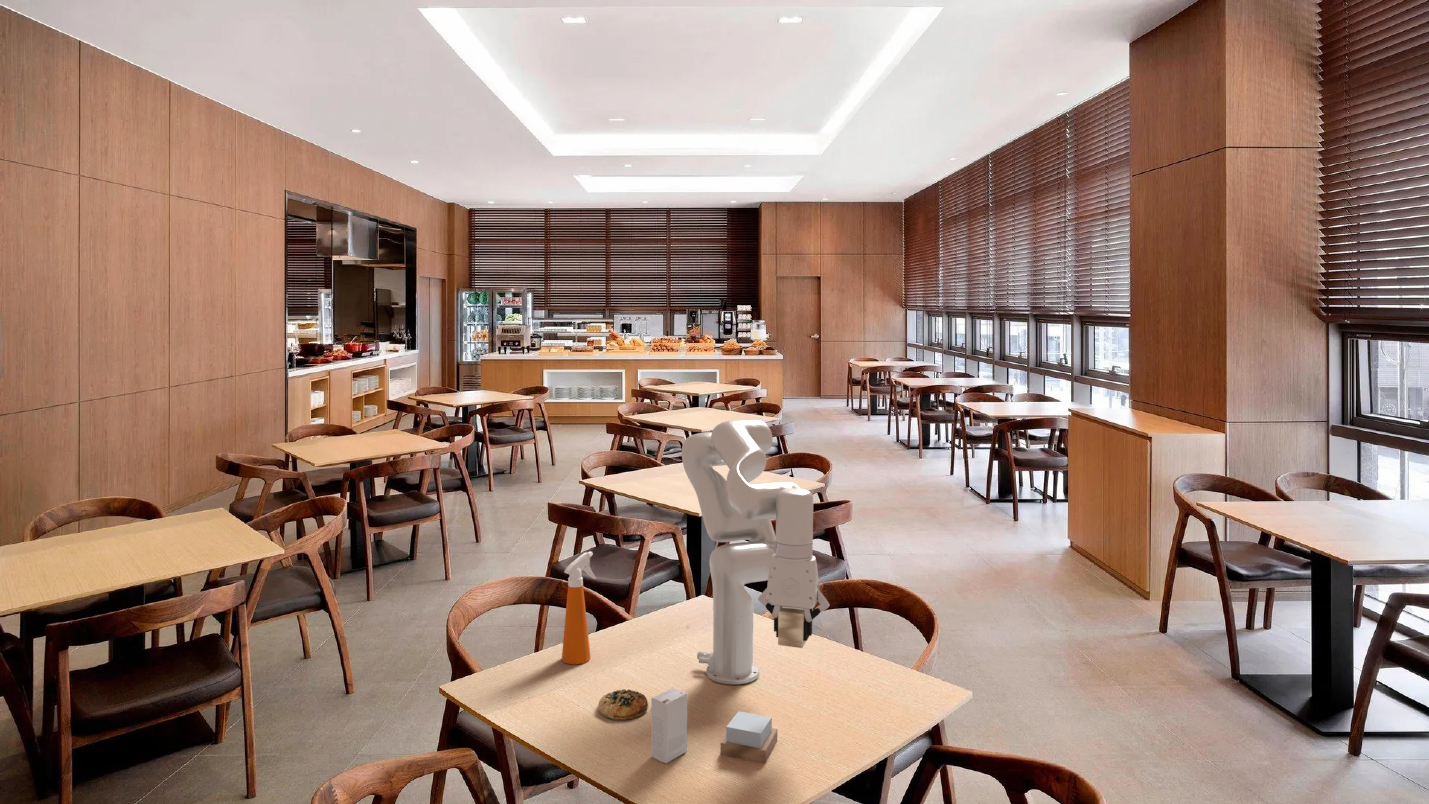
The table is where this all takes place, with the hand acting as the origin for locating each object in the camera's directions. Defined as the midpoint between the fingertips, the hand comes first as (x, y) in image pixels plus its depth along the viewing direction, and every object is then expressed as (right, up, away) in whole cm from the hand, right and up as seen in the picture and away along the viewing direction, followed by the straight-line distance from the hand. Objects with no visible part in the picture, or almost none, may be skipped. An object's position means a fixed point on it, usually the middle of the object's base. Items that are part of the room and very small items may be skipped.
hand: (792, 636), depth 167 cm
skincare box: (-25, -20, -10) cm, 34 cm away
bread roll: (-36, -19, +9) cm, 42 cm away
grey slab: (-9, -18, -8) cm, 21 cm away
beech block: (0, -1, 0) cm, 1 cm away
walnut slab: (-9, -21, -7) cm, 24 cm away
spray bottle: (-49, -16, +38) cm, 64 cm away
